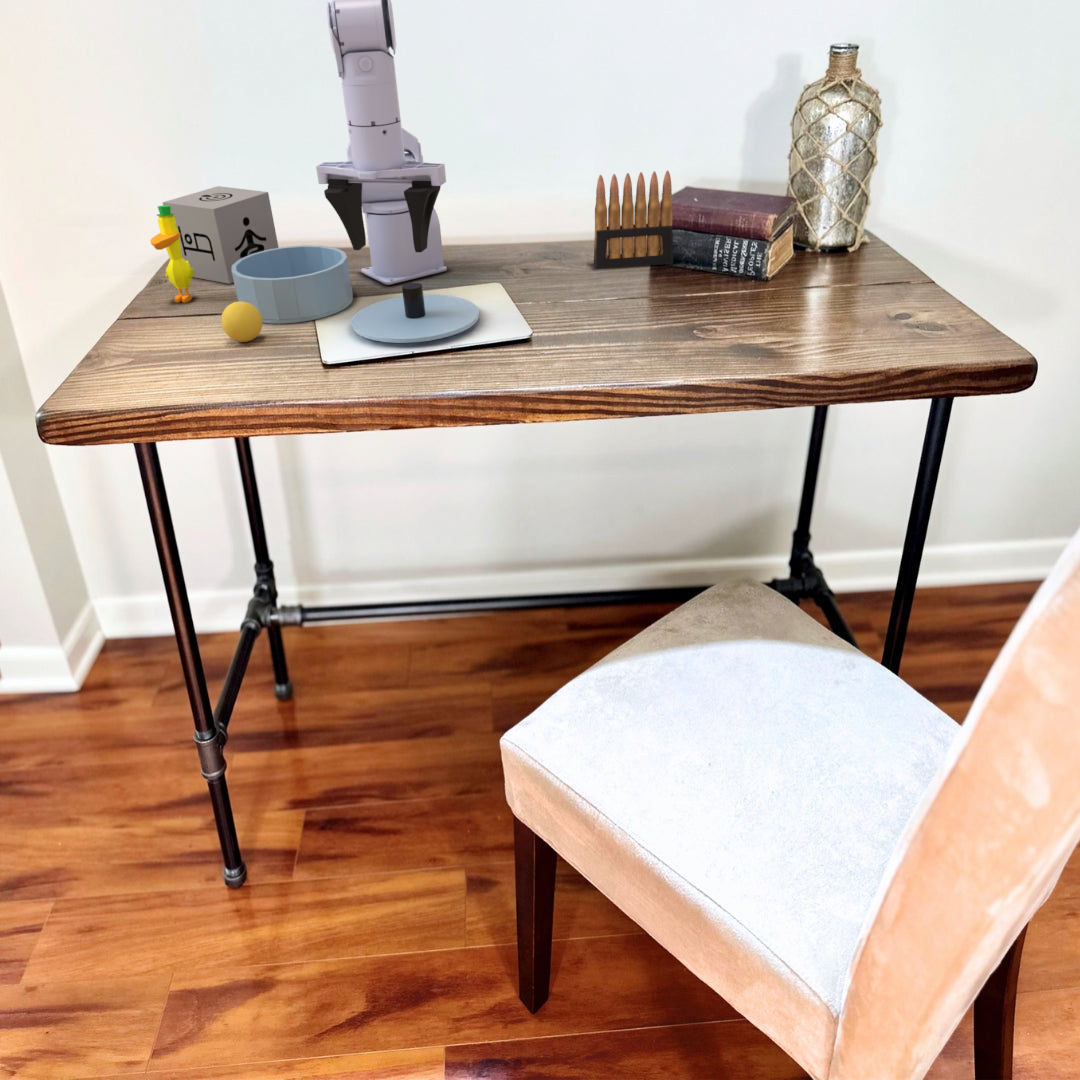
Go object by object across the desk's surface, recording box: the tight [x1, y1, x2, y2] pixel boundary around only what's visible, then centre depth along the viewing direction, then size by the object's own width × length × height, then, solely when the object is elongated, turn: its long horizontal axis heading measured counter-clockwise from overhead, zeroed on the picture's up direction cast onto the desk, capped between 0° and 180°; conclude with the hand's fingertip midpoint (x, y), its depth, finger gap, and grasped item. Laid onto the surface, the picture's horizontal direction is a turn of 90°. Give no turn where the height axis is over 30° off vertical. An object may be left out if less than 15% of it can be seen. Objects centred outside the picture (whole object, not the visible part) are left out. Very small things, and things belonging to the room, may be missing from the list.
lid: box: [351, 282, 480, 344], centre depth 115 cm, size 15×15×5 cm
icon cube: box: [162, 185, 280, 285], centre depth 136 cm, size 10×10×10 cm
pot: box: [232, 244, 354, 324], centre depth 123 cm, size 14×14×6 cm
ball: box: [220, 301, 263, 343], centre depth 113 cm, size 5×5×5 cm
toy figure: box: [150, 205, 194, 304], centre depth 125 cm, size 7×4×12 cm, turn 170°
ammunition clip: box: [593, 169, 674, 270], centre depth 129 cm, size 11×2×12 cm, turn 95°
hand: (390, 248), depth 111 cm, fingers open, 7 cm apart
